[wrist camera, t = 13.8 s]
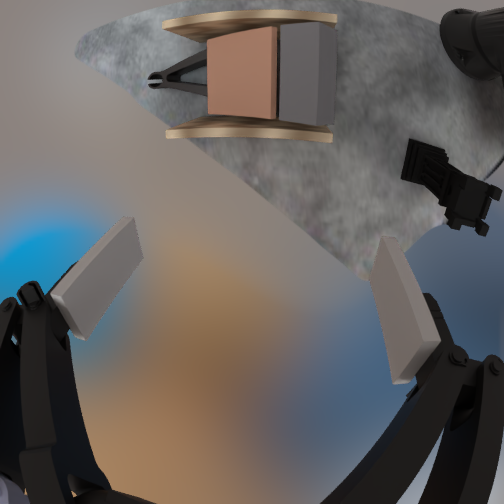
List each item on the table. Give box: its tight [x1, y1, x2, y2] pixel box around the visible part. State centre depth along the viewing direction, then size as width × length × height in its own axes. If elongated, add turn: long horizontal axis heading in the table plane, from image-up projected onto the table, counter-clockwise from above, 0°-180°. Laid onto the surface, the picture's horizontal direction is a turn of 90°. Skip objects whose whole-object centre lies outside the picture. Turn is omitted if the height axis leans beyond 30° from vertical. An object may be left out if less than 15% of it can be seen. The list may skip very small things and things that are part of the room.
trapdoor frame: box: [162, 10, 337, 143], centre depth 33 cm, size 21×17×15 cm
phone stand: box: [148, 49, 208, 96], centre depth 37 cm, size 9×6×12 cm
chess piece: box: [401, 139, 502, 236], centre depth 34 cm, size 8×8×20 cm
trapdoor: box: [207, 22, 337, 126], centre depth 29 cm, size 18×12×4 cm
